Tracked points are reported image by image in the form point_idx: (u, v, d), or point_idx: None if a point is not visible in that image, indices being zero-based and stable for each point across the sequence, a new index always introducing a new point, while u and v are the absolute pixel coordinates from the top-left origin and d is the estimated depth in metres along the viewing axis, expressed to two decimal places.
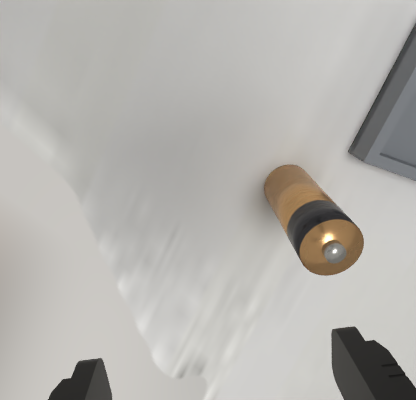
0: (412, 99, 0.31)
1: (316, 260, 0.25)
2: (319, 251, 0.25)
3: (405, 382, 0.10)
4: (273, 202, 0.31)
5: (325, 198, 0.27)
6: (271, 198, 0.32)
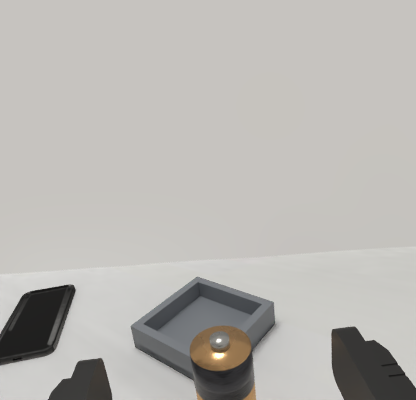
0: (186, 346, 0.41)
1: (229, 358, 0.25)
2: (219, 354, 0.25)
3: (405, 382, 0.10)
4: None
5: None
6: None
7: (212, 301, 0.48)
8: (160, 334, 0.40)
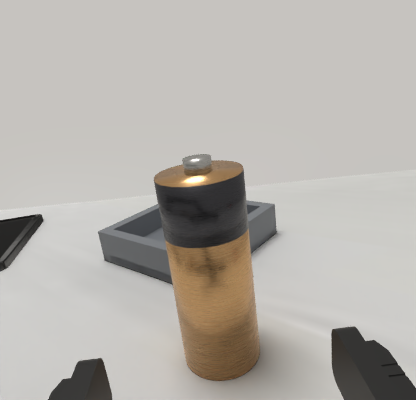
0: None
1: (210, 178, 0.17)
2: (196, 175, 0.17)
3: (405, 382, 0.10)
4: (201, 324, 0.18)
5: None
6: (202, 336, 0.19)
7: None
8: (133, 235, 0.32)
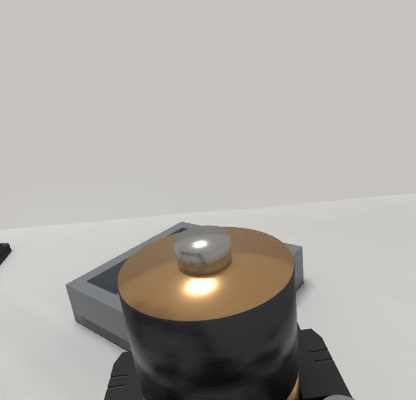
0: None
1: (231, 289, 0.08)
2: (201, 279, 0.08)
3: (330, 365, 0.11)
4: None
5: None
6: None
7: None
8: (111, 295, 0.23)
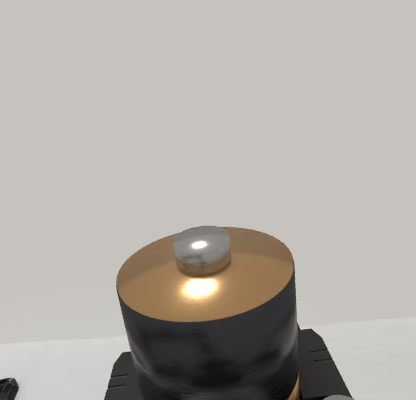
0: None
1: (230, 290, 0.08)
2: (201, 279, 0.08)
3: (330, 366, 0.11)
4: None
5: None
6: None
7: None
8: None
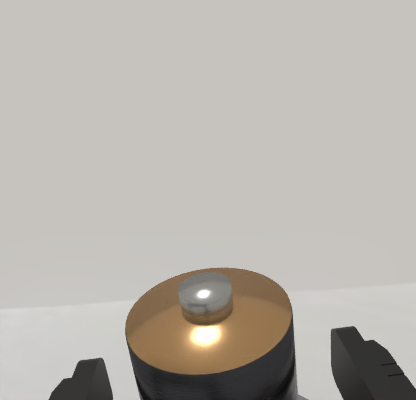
0: None
1: (232, 339, 0.09)
2: (205, 328, 0.09)
3: (404, 382, 0.10)
4: None
5: None
6: None
7: None
8: None
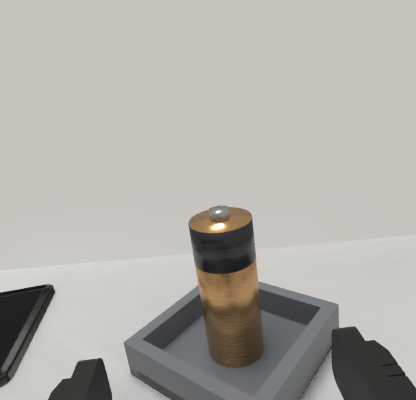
0: (209, 374, 0.26)
1: (229, 225, 0.24)
2: (219, 223, 0.24)
3: (405, 382, 0.10)
4: (222, 327, 0.26)
5: None
6: (223, 336, 0.26)
7: None
8: (169, 356, 0.26)
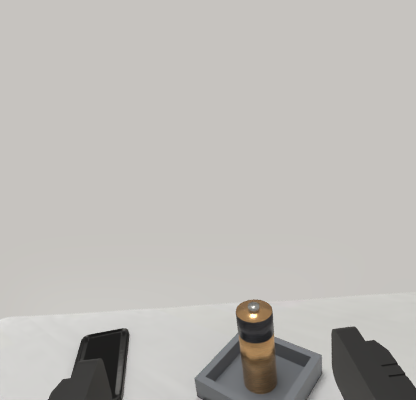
0: (246, 397, 0.46)
1: (260, 316, 0.43)
2: (254, 314, 0.44)
3: (405, 382, 0.10)
4: (254, 371, 0.45)
5: None
6: (254, 376, 0.45)
7: None
8: (224, 388, 0.45)
